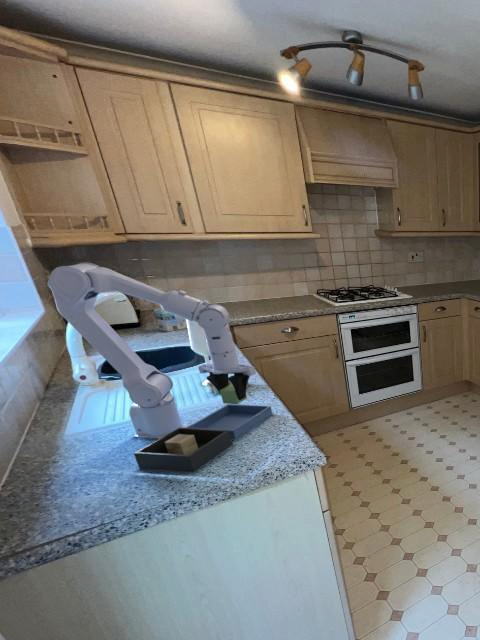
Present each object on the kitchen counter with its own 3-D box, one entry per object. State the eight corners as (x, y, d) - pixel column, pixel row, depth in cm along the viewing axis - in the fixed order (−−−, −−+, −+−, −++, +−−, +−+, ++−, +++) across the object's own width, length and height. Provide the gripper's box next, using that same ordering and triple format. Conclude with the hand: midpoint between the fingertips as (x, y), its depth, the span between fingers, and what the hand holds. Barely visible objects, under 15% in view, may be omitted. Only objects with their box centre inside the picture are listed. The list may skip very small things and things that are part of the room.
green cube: (223, 403, 110) (219, 390, 109) (233, 397, 114) (230, 384, 113) (237, 404, 110) (233, 390, 109) (247, 398, 114) (244, 385, 112)
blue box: (188, 438, 105) (184, 428, 104) (230, 413, 119) (227, 403, 118) (236, 441, 104) (233, 430, 103) (272, 415, 118) (270, 406, 117)
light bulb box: (168, 332, 202) (161, 310, 198) (159, 330, 204) (152, 309, 200) (190, 327, 211) (184, 306, 207) (182, 326, 213) (176, 305, 209)
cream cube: (169, 456, 96) (164, 442, 95) (183, 448, 100) (178, 434, 98) (185, 457, 96) (180, 443, 94) (198, 449, 99) (194, 434, 98)
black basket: (140, 470, 92) (133, 453, 90) (184, 443, 103) (179, 427, 101) (194, 473, 91) (189, 456, 89) (233, 445, 102) (229, 430, 100)
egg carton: (216, 396, 130) (213, 384, 129) (207, 390, 134) (204, 379, 133) (252, 386, 138) (249, 375, 137) (242, 381, 142) (240, 370, 141)
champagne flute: (221, 384, 140) (203, 315, 131) (198, 386, 138) (178, 317, 129) (227, 377, 145) (209, 311, 137) (205, 379, 143) (186, 312, 134)
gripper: (184, 354, 103) (198, 402, 109) (237, 356, 103) (249, 405, 108) (205, 346, 110) (217, 392, 115) (256, 348, 109) (266, 394, 114)
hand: (234, 397), depth 112 cm, fingers closed on green cube, 4 cm apart
